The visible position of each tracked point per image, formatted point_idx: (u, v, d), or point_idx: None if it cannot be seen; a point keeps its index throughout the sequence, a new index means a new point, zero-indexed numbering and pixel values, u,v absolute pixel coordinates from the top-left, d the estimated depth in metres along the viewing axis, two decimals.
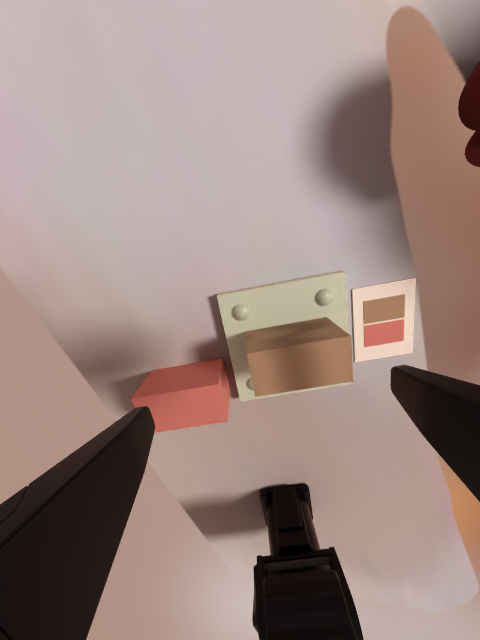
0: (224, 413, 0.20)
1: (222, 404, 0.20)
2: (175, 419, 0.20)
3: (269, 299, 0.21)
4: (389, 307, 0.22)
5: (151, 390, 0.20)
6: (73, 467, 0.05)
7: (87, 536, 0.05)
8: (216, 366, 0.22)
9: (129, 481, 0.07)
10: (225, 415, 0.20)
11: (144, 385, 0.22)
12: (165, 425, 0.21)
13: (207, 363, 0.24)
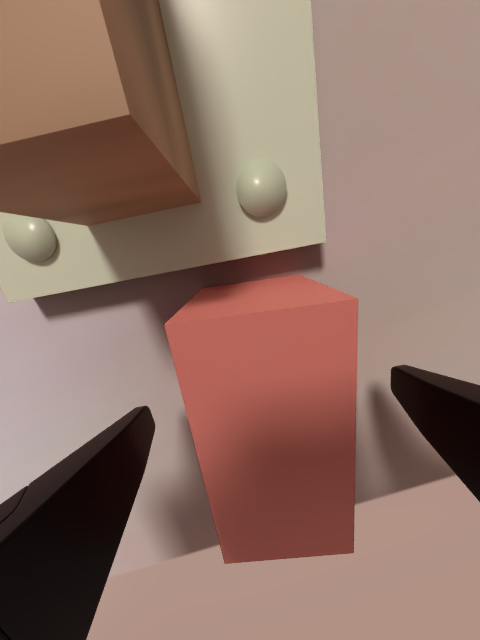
0: (313, 310, 0.05)
1: (265, 315, 0.05)
2: (313, 476, 0.06)
3: None
4: None
5: None
6: (73, 467, 0.05)
7: (87, 536, 0.05)
8: None
9: (129, 481, 0.07)
10: (325, 306, 0.05)
11: None
12: (332, 504, 0.06)
13: None
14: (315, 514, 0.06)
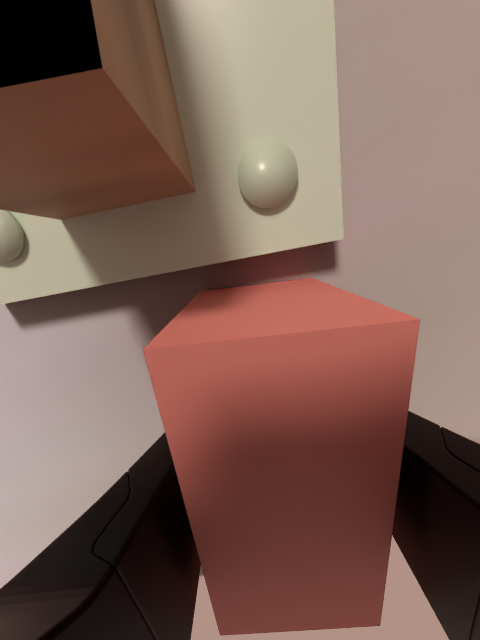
0: (355, 334, 0.03)
1: (287, 339, 0.03)
2: (337, 541, 0.05)
3: None
4: None
5: None
6: (167, 454, 0.05)
7: (186, 524, 0.05)
8: None
9: None
10: (372, 329, 0.03)
11: None
12: (358, 573, 0.05)
13: None
14: (336, 584, 0.05)
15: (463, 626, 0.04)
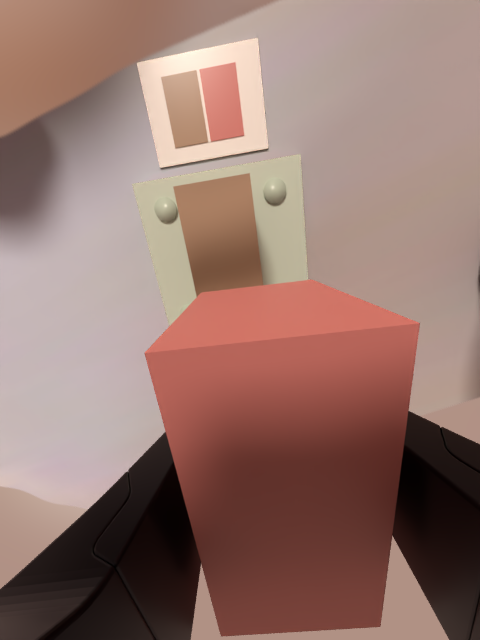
0: (355, 337, 0.03)
1: (288, 342, 0.03)
2: (337, 543, 0.05)
3: (173, 281, 0.18)
4: (181, 101, 0.15)
5: None
6: (168, 453, 0.05)
7: (186, 524, 0.05)
8: None
9: None
10: (372, 332, 0.03)
11: None
12: (359, 574, 0.05)
13: None
14: (336, 585, 0.05)
15: (463, 626, 0.04)
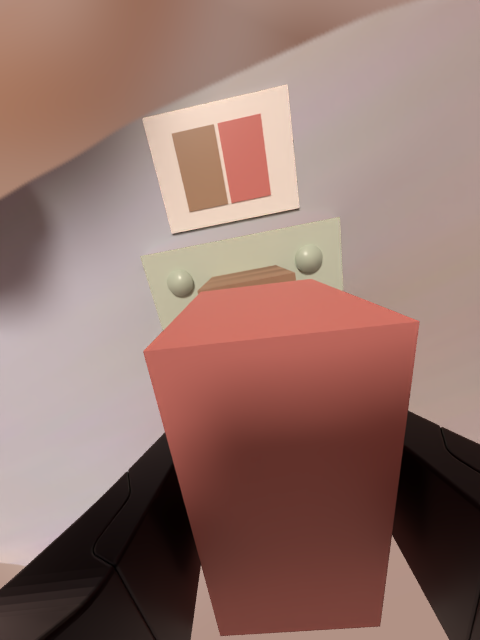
0: (354, 336, 0.03)
1: (287, 341, 0.03)
2: (337, 542, 0.05)
3: None
4: (196, 160, 0.13)
5: None
6: (168, 453, 0.05)
7: (186, 524, 0.05)
8: None
9: None
10: (371, 331, 0.03)
11: None
12: (358, 573, 0.05)
13: None
14: (336, 584, 0.05)
15: (462, 626, 0.04)
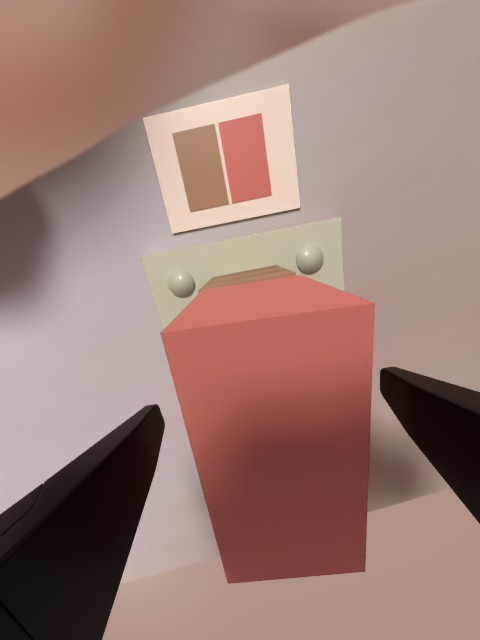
0: (325, 316, 0.04)
1: (272, 321, 0.04)
2: (323, 493, 0.05)
3: None
4: (197, 160, 0.13)
5: None
6: (88, 465, 0.05)
7: (102, 534, 0.05)
8: None
9: (141, 479, 0.07)
10: (338, 311, 0.04)
11: None
12: (343, 521, 0.06)
13: None
14: (324, 532, 0.06)
15: None
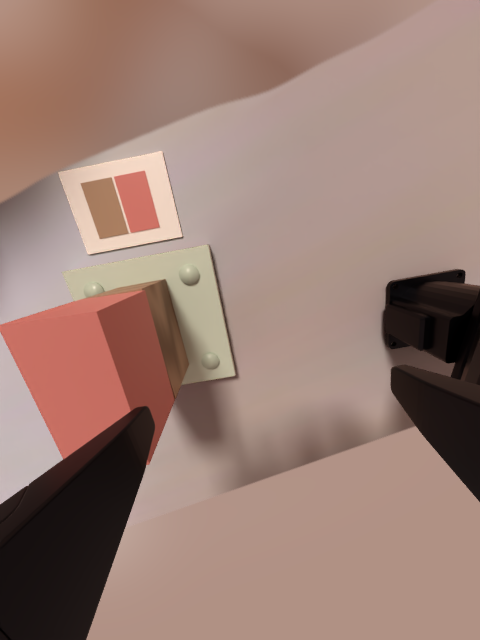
0: (74, 317, 0.09)
1: (51, 320, 0.09)
2: (107, 413, 0.10)
3: None
4: (101, 202, 0.17)
5: None
6: (73, 467, 0.05)
7: (87, 536, 0.05)
8: None
9: (129, 481, 0.07)
10: (81, 315, 0.09)
11: None
12: None
13: None
14: None
15: None
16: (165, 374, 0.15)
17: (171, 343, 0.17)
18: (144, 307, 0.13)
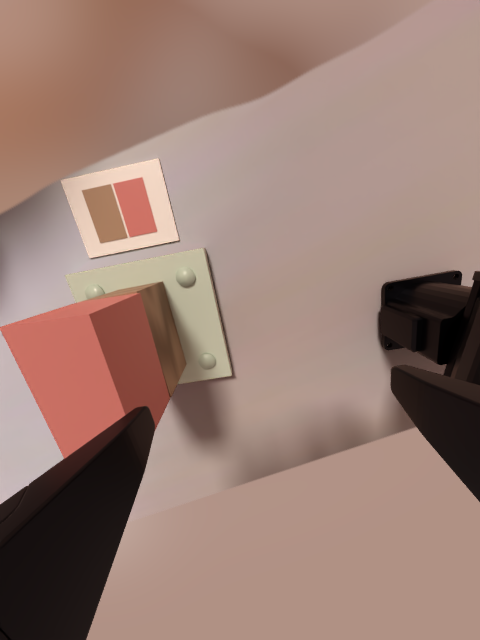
0: (69, 319, 0.09)
1: (47, 322, 0.09)
2: (100, 409, 0.11)
3: None
4: (101, 208, 0.18)
5: None
6: (73, 467, 0.05)
7: (87, 536, 0.05)
8: None
9: (129, 481, 0.07)
10: (75, 318, 0.09)
11: None
12: None
13: None
14: None
15: None
16: (160, 373, 0.15)
17: (167, 343, 0.18)
18: (139, 309, 0.14)
